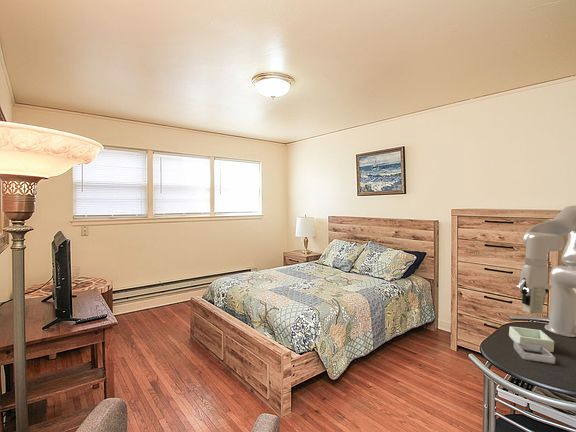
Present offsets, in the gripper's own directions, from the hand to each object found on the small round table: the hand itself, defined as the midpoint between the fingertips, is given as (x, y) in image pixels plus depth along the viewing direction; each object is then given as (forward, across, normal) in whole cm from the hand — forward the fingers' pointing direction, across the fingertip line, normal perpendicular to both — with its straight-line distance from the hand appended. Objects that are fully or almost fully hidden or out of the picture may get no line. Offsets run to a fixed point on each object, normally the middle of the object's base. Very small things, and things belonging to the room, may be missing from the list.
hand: (532, 303), depth 137 cm
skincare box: (+4, 0, 0) cm, 4 cm away
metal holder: (+18, +8, +10) cm, 22 cm away
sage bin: (+18, 0, 0) cm, 18 cm away
